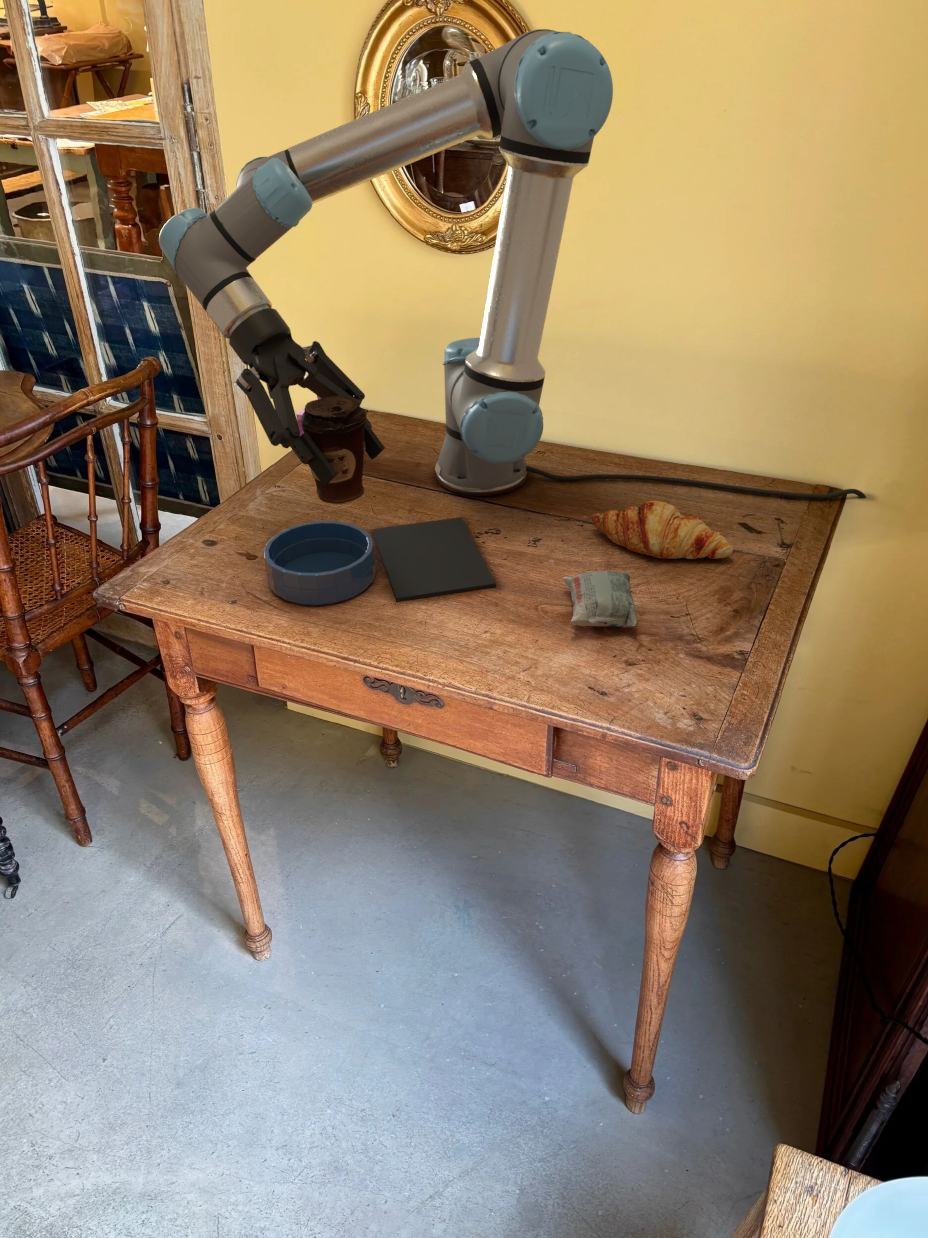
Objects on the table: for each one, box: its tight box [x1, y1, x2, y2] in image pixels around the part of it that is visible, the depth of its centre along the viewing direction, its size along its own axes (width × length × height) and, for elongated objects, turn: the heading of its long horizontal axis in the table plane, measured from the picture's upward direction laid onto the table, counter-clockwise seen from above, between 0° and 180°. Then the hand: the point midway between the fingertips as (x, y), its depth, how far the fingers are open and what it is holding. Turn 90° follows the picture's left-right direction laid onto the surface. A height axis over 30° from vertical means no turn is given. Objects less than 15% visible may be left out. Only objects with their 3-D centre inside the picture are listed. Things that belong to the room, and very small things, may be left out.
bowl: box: [263, 520, 377, 606], centre depth 131 cm, size 15×15×5 cm
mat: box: [372, 516, 497, 603], centre depth 136 cm, size 14×20×1 cm
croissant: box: [591, 499, 734, 560], centre depth 136 cm, size 21×10×8 cm, turn 65°
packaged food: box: [562, 570, 638, 628], centre depth 122 cm, size 9×12×5 cm
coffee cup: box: [301, 396, 367, 505], centre depth 123 cm, size 9×8×13 cm
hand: (355, 466), depth 122 cm, fingers closed on coffee cup, 9 cm apart
